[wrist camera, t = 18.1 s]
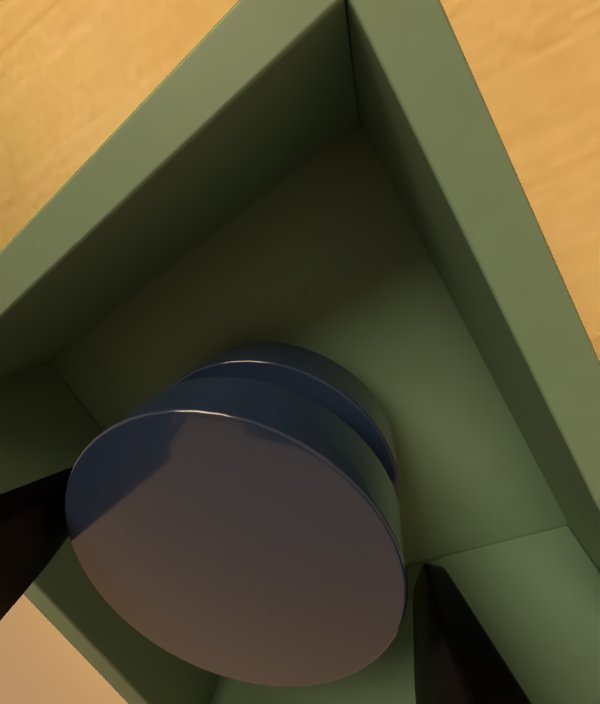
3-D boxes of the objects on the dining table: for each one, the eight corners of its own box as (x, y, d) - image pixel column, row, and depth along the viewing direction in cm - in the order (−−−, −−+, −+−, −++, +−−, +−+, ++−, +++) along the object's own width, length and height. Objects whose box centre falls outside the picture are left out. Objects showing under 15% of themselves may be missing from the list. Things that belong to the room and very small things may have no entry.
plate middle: (233, 602, 11) (195, 702, 8) (92, 427, 10) (3, 489, 7) (449, 547, 8) (478, 666, 6) (300, 302, 7) (265, 334, 5)
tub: (244, 607, 16) (189, 768, 11) (37, 347, 13) (-153, 412, 8) (594, 520, 11) (770, 745, 6) (373, 75, 8) (375, -150, 3)
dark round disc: (259, 539, 13) (234, 603, 11) (148, 391, 12) (94, 429, 10) (434, 480, 11) (452, 547, 8) (319, 287, 9) (302, 303, 7)
